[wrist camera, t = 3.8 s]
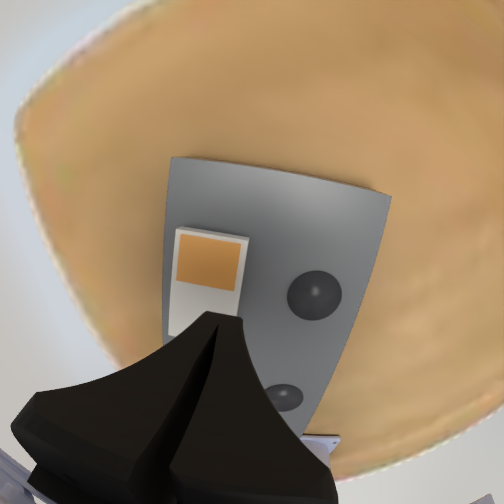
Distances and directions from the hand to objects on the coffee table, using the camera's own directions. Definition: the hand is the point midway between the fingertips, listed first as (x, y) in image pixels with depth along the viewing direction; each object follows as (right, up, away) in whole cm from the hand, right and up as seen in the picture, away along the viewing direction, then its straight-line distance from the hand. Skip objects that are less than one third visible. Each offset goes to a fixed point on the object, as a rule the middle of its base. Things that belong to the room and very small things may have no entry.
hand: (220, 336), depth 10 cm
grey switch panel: (+1, -2, +10) cm, 11 cm away
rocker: (-1, +1, +5) cm, 6 cm away
